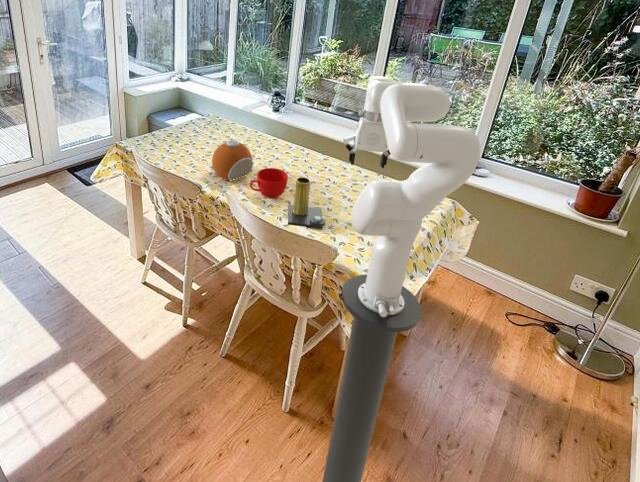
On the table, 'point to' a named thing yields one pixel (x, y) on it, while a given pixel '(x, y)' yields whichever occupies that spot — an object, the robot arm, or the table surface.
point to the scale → (306, 218)
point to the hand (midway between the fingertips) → (366, 164)
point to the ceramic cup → (271, 182)
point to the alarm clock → (232, 160)
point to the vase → (301, 196)
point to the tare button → (317, 219)
